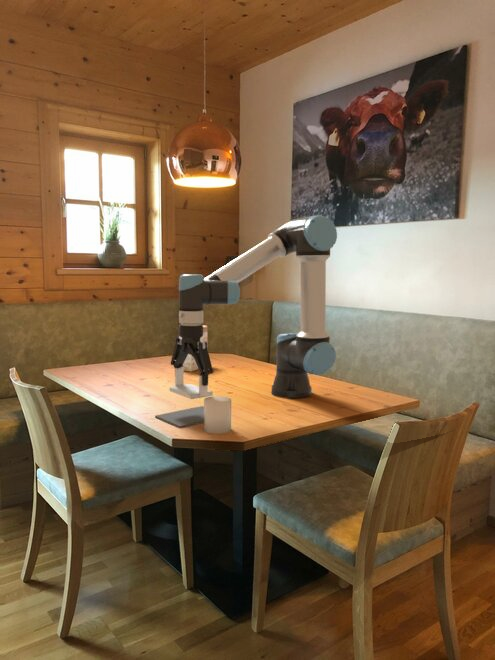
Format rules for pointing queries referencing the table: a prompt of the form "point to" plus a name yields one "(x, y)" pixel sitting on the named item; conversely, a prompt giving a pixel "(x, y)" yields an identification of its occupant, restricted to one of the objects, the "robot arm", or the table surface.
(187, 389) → the hard drive
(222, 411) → the cream rounded cylinder
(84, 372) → the table surface
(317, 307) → the robot arm
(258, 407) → the table surface
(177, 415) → the mat
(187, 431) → the table surface
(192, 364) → the coffeecake box
